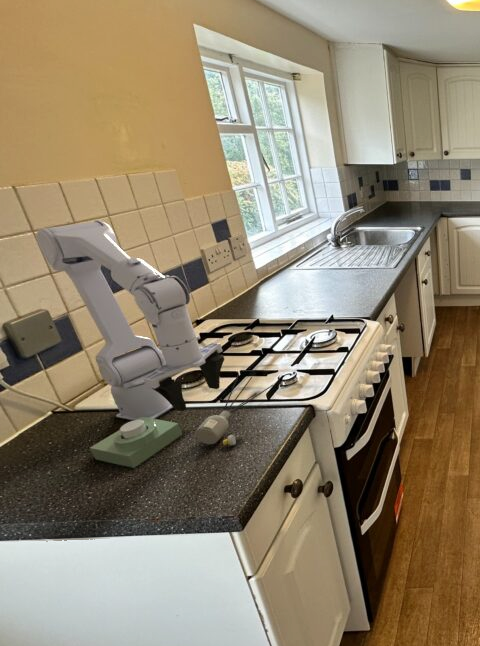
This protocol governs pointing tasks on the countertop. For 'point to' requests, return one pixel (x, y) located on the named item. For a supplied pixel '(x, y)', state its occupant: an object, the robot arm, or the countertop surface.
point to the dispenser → (137, 443)
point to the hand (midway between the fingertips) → (198, 398)
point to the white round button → (133, 429)
